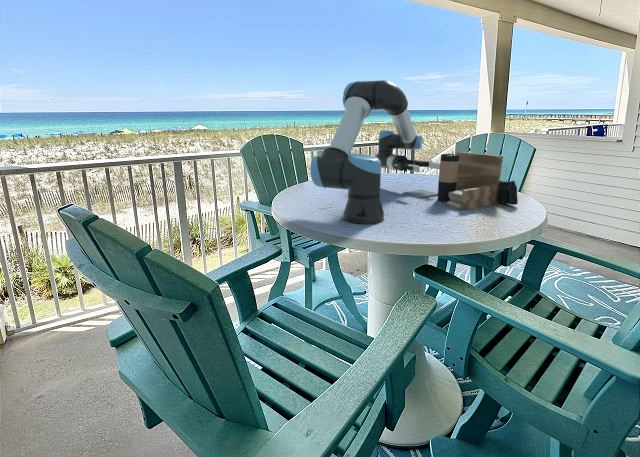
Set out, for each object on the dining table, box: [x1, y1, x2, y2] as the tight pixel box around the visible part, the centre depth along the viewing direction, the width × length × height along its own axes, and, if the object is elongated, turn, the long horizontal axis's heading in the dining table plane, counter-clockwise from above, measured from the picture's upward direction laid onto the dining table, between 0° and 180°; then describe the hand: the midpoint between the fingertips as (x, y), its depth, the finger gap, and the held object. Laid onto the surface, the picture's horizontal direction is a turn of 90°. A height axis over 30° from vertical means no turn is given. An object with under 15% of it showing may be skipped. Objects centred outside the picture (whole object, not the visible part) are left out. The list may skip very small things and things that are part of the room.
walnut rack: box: [455, 151, 504, 211], centre depth 158 cm, size 21×22×20 cm
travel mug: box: [437, 153, 459, 203], centre depth 161 cm, size 8×8×20 cm
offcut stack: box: [446, 188, 472, 210], centre depth 155 cm, size 16×8×6 cm, turn 124°
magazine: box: [497, 180, 519, 206], centre depth 163 cm, size 17×3×30 cm
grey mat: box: [402, 189, 438, 199], centre depth 176 cm, size 12×12×1 cm
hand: (429, 167), depth 169 cm, fingers open, 13 cm apart
